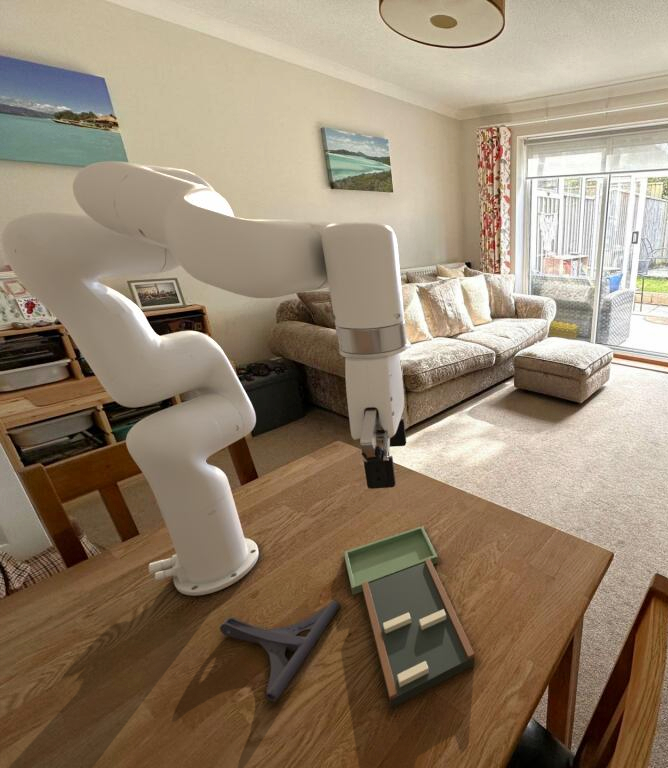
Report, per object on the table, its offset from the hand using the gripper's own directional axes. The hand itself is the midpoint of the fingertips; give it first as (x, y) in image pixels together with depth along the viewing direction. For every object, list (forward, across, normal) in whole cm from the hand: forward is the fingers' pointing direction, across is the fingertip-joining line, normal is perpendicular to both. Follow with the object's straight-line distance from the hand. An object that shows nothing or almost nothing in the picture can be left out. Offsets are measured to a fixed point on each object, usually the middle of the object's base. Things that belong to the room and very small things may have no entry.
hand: (389, 464), depth 53 cm
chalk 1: (+28, +1, -2) cm, 28 cm away
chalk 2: (+28, +9, +2) cm, 30 cm away
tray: (+30, -14, -5) cm, 33 cm away
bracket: (+30, 0, -21) cm, 36 cm away
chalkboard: (+30, 0, +1) cm, 30 cm away
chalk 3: (+28, +1, +4) cm, 29 cm away
